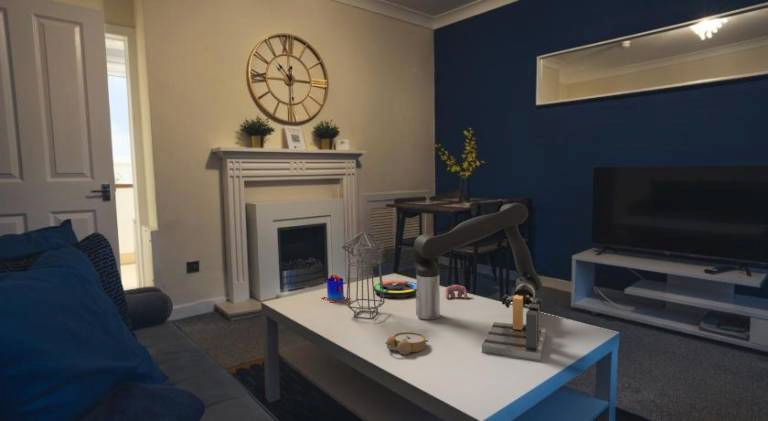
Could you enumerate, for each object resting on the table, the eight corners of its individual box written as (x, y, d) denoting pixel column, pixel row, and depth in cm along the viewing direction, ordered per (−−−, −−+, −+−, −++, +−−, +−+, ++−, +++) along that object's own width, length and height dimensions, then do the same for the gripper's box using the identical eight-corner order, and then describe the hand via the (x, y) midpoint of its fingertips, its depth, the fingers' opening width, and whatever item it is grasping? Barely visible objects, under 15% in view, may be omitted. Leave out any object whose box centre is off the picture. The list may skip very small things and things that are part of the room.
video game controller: (466, 300, 201) (466, 285, 204) (467, 298, 197) (466, 283, 200) (445, 300, 202) (444, 285, 205) (445, 298, 198) (445, 283, 201)
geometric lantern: (341, 318, 176) (337, 233, 174) (357, 308, 190) (355, 229, 188) (376, 322, 170) (373, 234, 168) (391, 311, 184) (388, 229, 182)
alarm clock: (433, 338, 146) (403, 343, 136) (431, 352, 146) (401, 358, 136) (408, 329, 154) (378, 334, 144) (407, 343, 154) (377, 349, 144)
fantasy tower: (318, 299, 204) (317, 274, 203) (340, 294, 212) (339, 270, 210) (331, 304, 195) (330, 278, 194) (353, 299, 202) (352, 274, 201)
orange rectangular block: (523, 326, 154) (523, 296, 153) (521, 330, 151) (521, 299, 150) (514, 325, 156) (514, 295, 155) (512, 328, 152) (512, 298, 151)
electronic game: (405, 302, 196) (405, 292, 196) (364, 295, 209) (364, 286, 209) (428, 290, 216) (428, 280, 215) (389, 284, 228) (389, 275, 228)
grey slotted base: (545, 334, 153) (546, 297, 152) (540, 361, 133) (540, 317, 131) (494, 328, 161) (494, 292, 160) (481, 352, 140) (481, 311, 139)
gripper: (506, 283, 175) (499, 294, 160) (543, 286, 169) (540, 298, 154) (506, 302, 175) (499, 314, 161) (543, 305, 170) (540, 318, 155)
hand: (519, 306), depth 157 cm, fingers open, 8 cm apart
